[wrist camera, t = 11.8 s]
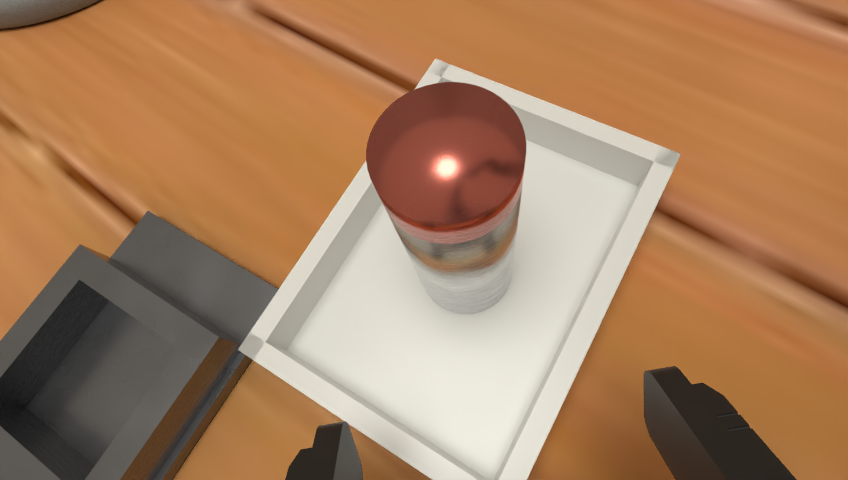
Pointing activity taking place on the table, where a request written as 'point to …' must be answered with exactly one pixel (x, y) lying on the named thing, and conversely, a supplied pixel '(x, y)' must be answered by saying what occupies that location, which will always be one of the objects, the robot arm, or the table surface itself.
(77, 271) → the hitch
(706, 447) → the robot arm
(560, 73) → the table surface
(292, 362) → the tray
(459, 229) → the pin
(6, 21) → the frisbee
